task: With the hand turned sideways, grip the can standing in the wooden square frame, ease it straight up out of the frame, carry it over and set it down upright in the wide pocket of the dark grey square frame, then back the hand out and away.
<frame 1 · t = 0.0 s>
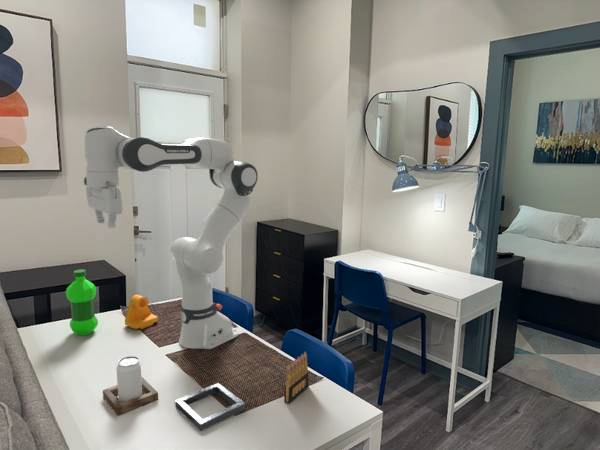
hand: (106, 225, 133), 48 cm above the table, tool pointing down, fingers open, 8 cm apart
can: (130, 399, 124), resting in wooden square frame
ammunition clip: (296, 395, 128), on the table
dark grey square frame: (210, 408, 121), on the table
orange figurine: (142, 325, 176), on the table
wooden square frame: (130, 399, 124), on the table
plastic bottle: (84, 332, 167), on the table
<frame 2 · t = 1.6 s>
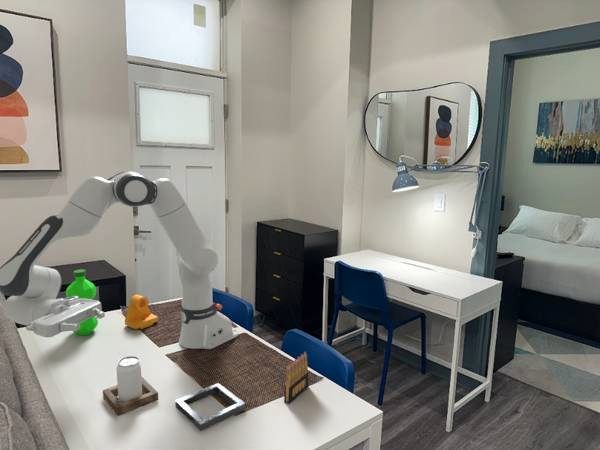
hand: (91, 321, 124), 22 cm above the table, tool horizontal, fingers open, 8 cm apart
nothing on the table moved.
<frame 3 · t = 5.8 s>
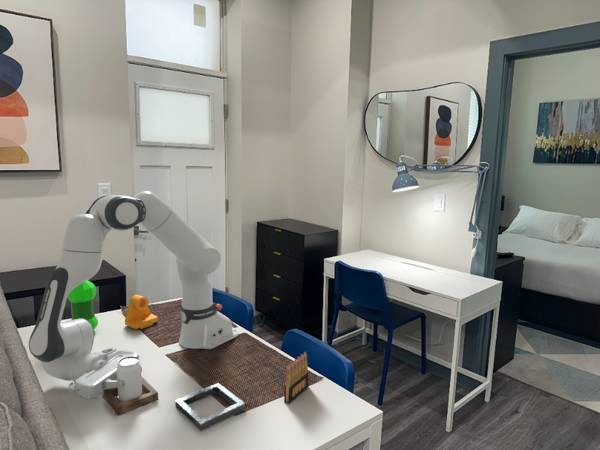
hand: (132, 377, 123), 7 cm above the table, tool horizontal, fingers closed on can, 6 cm apart
can: (130, 399, 124), resting in wooden square frame, touching gripper
everything else where it was.
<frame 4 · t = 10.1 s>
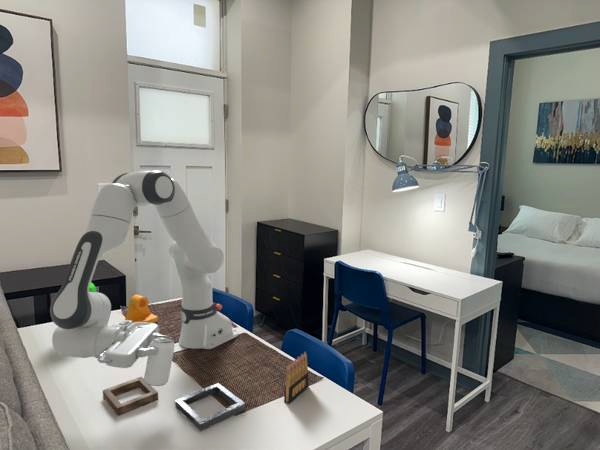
hand: (162, 345, 118), 19 cm above the table, tool horizontal, fingers closed on can, 5 cm apart
can: (155, 382, 118), point 9 cm above the table, touching gripper
everything else where it was.
when the fingers open (9 cm above the table, at t = 13.1 s): can stays where it is, resting in dark grey square frame.
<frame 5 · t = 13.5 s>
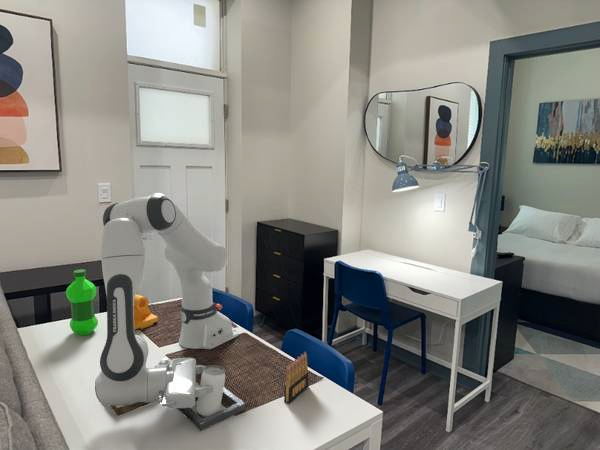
hand: (212, 378, 119), 9 cm above the table, tool horizontal, fingers open, 8 cm apart
can: (207, 411, 118), resting in dark grey square frame, touching gripper
everything else where it was.
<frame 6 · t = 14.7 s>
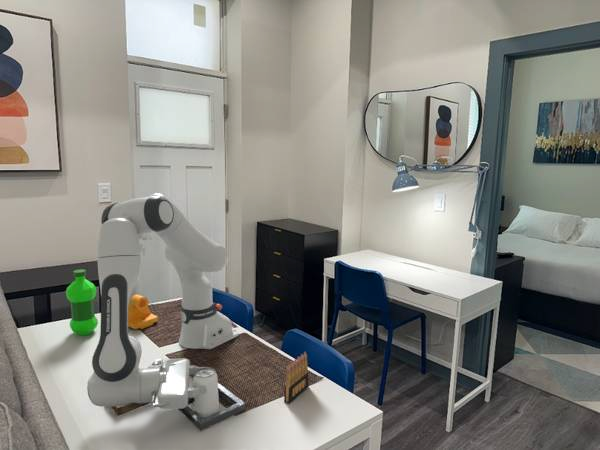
hand: (206, 379, 119), 9 cm above the table, tool horizontal, fingers open, 8 cm apart
can: (207, 413, 119), resting in dark grey square frame
everything else where it was.
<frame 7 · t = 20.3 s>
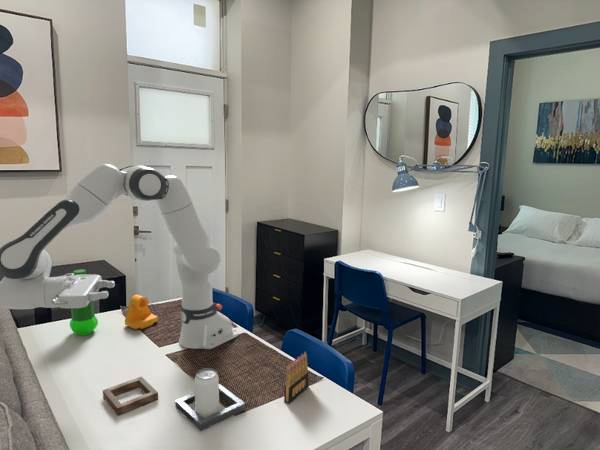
hand: (111, 289, 128), 30 cm above the table, tool horizontal, fingers open, 8 cm apart
nothing on the table moved.
at the end: can 2.3 cm off-centre on the dark grey square frame, point 0.0 cm above the dark grey square frame's base; can tilted 0°; the gripper is holding nothing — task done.
